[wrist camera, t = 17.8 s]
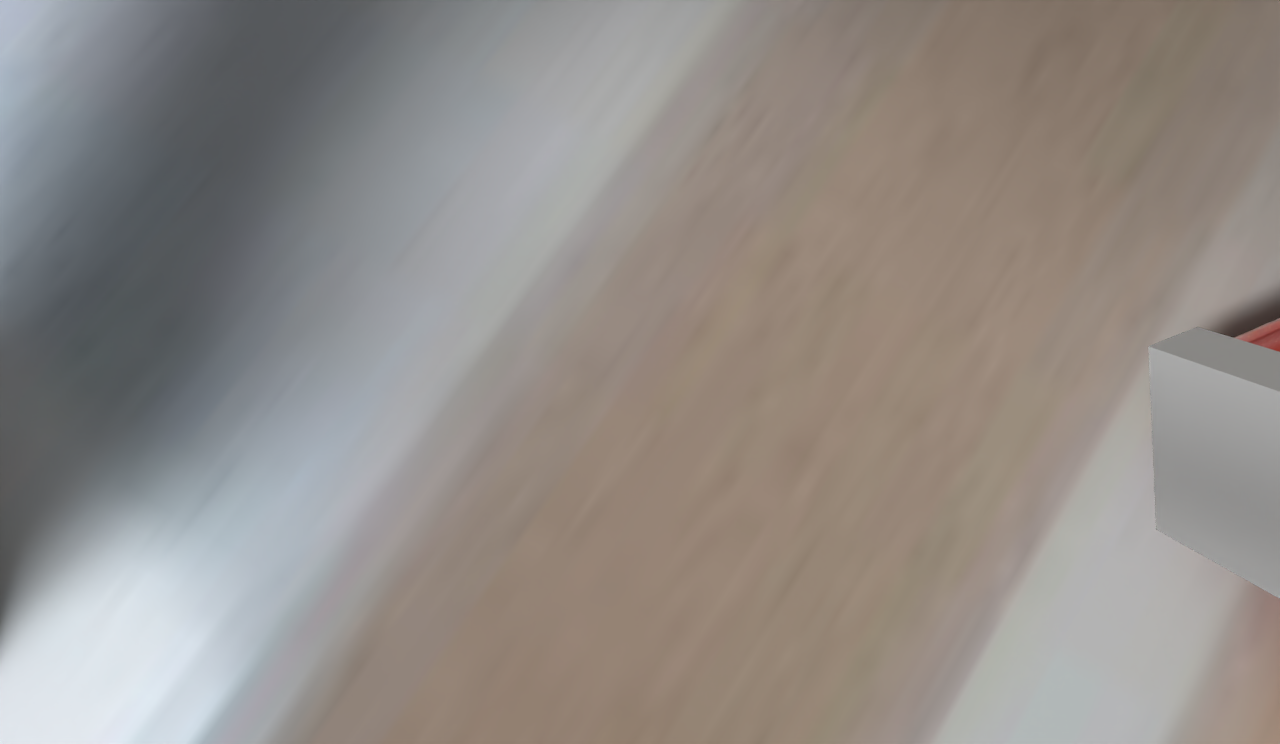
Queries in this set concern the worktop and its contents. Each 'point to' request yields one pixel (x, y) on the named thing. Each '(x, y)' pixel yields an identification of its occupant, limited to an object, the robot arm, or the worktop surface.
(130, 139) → the worktop surface
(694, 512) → the worktop surface
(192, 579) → the worktop surface
